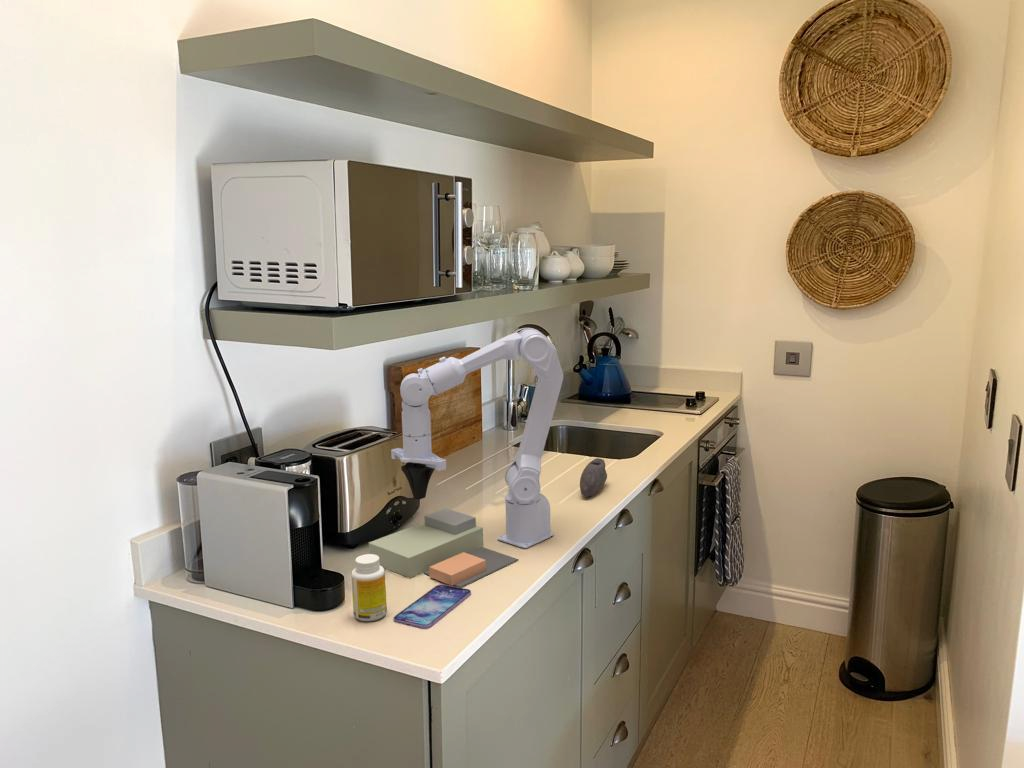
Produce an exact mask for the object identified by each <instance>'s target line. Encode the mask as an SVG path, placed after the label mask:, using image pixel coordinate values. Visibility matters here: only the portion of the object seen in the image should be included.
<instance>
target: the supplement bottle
mask: <svg viewBox="0 0 1024 768" xmlns="http://www.w3.org/2000/svg"><path fill="white" fill-rule="evenodd" d="M354 562H355V567H354V569H352V571H351V591H352V593H351V594H352V606H353V607H352V608H353V615H354V618H355V619H357V620H358V621H362V622H373V621H375V622H376V621H378V620H380V619H382V618H384V617H385V616H386V614H387V611H388V609H387V608H388V607H387V605H388V604H387V590H386V588H387V587H386V572H385V568H384V567H382V566H380V562H379V557H378V556H377V555H374V554H369V553H366V554H362V555H359V556H357V557H356V558H355V561H354Z"/></svg>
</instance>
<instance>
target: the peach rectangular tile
mask: <svg viewBox="0 0 1024 768" xmlns="http://www.w3.org/2000/svg"><path fill="white" fill-rule="evenodd" d="M485 570H486V560H484V559H481V558H478V557H476V556H473V555H470V554H467V553H465V552H463V553H460V554H458V555H456V556H453V557H451V558H449V559H446V560H444V561H442V562H439V563H437V564H435V565H432V566H430V567H429V575H430V576H429V578H431V579H434V580H437V581H439V582H441V583H443V584H445V585H448V586H453V585H454V584H457V583H459V582H461V581H463V580H465V579H467V578H470V577H472V576H474V575H476V574H478V573H480V572H483V571H485Z"/></svg>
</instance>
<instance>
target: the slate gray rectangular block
mask: <svg viewBox="0 0 1024 768" xmlns="http://www.w3.org/2000/svg"><path fill="white" fill-rule="evenodd" d="M423 519H424V522H425V525H426V526H429V527H432V528H435V529H438V530H441V531H444V532H447V533H450V534H453V535H457V534H459V533H462V532H464V531H467V530H469V529H472V528H474V527H476V526H477V521H476V517H475V516H472V515H468V514H466V513H462V512H458V511H456V510H453V509H449V508H445V507H444V508H443V509H440V510H437V511H434V512H431V513H428V514H426V515H424V518H423Z"/></svg>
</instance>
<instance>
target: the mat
mask: <svg viewBox="0 0 1024 768" xmlns="http://www.w3.org/2000/svg"><path fill="white" fill-rule="evenodd" d="M467 554H470V555H473V556H476V557H478V558H481V559H484V560H486V570H485V571H483V572H480V573H478V574H476V575H474V576H472V577H470V578H467V579H465V580H463V581H461V582H459V583H457V584H454V585H452V586H454V587H459V588H465V587H466V586H468V585H470V584H473V583H475V582H476V581H478V580H481V579H483V578H485V577H487V576H489V575H491V574H493V573H495V572H498V571H499V570H501V569H504V568H506V567H508V566H510V565H512V564H514V563H516V562H515V561H517V560H518V561H519V558H516V557H513V556H510V555H507V554H504V553H501V552H498V551H495V550H492V549H490V548H487V547H484V546H482V547H480V548H478V549H475V550H473V551H471V552H469V553H467ZM518 561H517V562H518ZM513 562H514V563H513ZM511 563H512V564H511ZM509 564H510V565H509ZM507 565H508V566H507ZM505 566H506V567H505ZM423 574H424V575H426V576H428V577H430V575H429V570H427V571H425V572H423Z"/></svg>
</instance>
